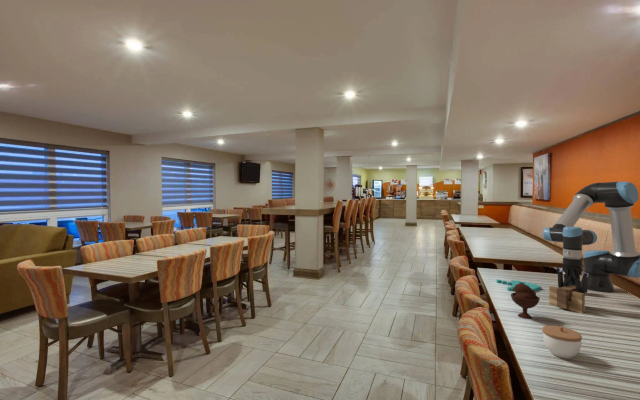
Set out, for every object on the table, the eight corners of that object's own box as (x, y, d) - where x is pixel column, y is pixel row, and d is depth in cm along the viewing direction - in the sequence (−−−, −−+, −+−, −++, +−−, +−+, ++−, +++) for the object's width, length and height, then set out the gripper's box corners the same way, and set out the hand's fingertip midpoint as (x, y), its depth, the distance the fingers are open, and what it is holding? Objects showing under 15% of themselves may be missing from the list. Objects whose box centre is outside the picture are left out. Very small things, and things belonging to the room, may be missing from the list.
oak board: (552, 303, 158) (552, 286, 158) (584, 312, 145) (584, 293, 145) (549, 304, 157) (549, 286, 157) (581, 313, 144) (581, 294, 144)
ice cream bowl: (531, 323, 132) (531, 288, 132) (505, 314, 142) (505, 282, 142) (544, 318, 137) (545, 285, 137) (519, 310, 147) (519, 279, 147)
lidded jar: (534, 347, 111) (534, 321, 111) (562, 346, 112) (562, 320, 112) (560, 362, 100) (560, 334, 100) (590, 361, 101) (590, 333, 101)
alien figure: (508, 291, 180) (547, 294, 176) (508, 288, 180) (547, 290, 176) (496, 282, 199) (530, 284, 195) (496, 279, 199) (530, 281, 195)
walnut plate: (573, 302, 157) (573, 285, 157) (582, 305, 153) (582, 287, 153) (556, 306, 151) (556, 288, 151) (566, 309, 147) (566, 290, 147)
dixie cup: (574, 291, 180) (574, 272, 180) (583, 295, 172) (583, 275, 172) (559, 290, 182) (559, 271, 182) (567, 294, 174) (567, 274, 174)
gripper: (549, 255, 159) (549, 300, 159) (588, 261, 144) (588, 311, 144) (557, 254, 162) (557, 298, 162) (597, 260, 147) (597, 309, 147)
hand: (572, 304), depth 153 cm, fingers closed on walnut plate, 4 cm apart
